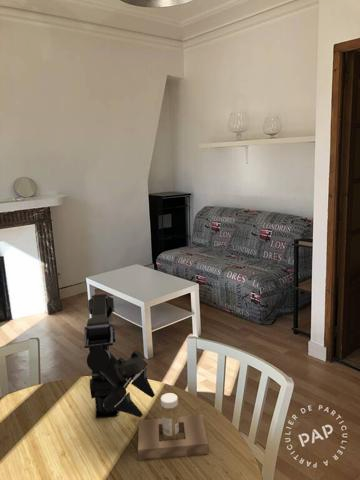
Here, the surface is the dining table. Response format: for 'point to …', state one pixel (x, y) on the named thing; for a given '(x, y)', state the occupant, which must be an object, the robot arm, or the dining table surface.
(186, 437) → the socket block
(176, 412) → the sprinkles bottle
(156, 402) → the dining table surface
